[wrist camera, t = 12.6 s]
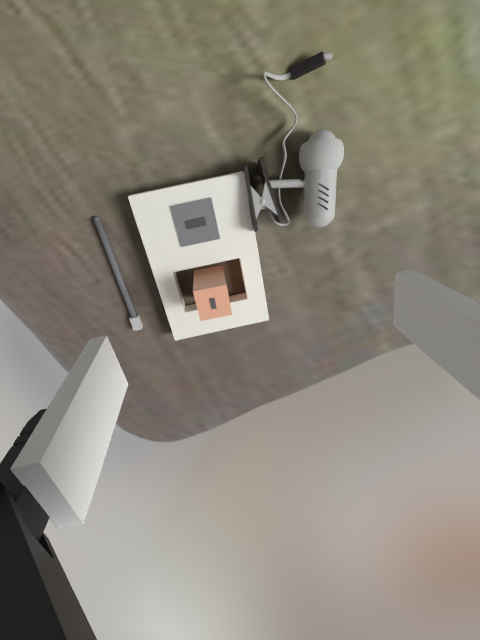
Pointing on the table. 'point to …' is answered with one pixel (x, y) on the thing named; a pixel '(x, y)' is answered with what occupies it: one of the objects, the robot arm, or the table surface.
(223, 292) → the block
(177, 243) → the outlet plate
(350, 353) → the table surface
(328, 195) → the clip-on lamp
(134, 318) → the cable
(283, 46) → the table surface
